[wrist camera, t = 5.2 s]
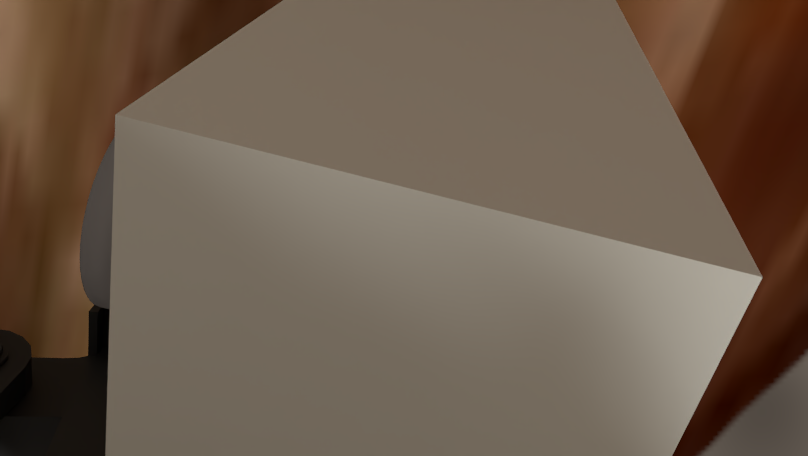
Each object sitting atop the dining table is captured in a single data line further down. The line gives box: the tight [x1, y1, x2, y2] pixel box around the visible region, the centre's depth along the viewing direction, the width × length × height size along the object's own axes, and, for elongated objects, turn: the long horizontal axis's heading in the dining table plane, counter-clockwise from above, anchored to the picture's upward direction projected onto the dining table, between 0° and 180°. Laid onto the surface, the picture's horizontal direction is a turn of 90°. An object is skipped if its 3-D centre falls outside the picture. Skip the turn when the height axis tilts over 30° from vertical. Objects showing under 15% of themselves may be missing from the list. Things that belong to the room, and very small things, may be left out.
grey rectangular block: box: [80, 0, 762, 456], centre depth 13 cm, size 5×13×11 cm, turn 168°
